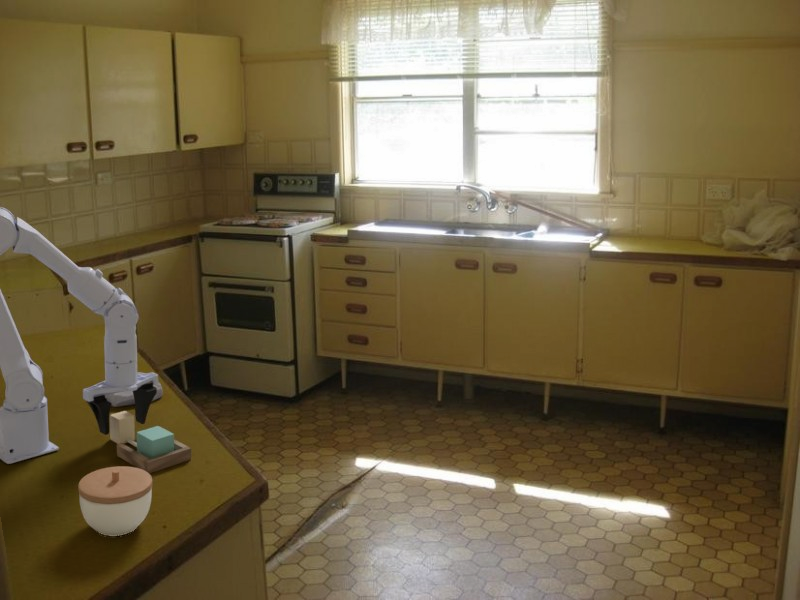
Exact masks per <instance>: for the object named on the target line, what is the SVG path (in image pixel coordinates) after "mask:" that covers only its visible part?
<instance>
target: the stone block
mask: <svg viewBox="0 0 800 600" xmlns="http://www.w3.org/2000/svg"><path fill="white" fill-rule="evenodd" d="M137 374H146V373H145V372H141V371H140V372H139V371H137ZM153 386H154V387H156V388H157V393H156V395H155V396H154V398H153V400H152V402H154V401H156V400H158V399H160V398H162V397H163V393H164V392H163V388H162V387H163V386H162V385H161V382H159V381H158V384H156V385H153ZM105 398H107V401H109V402H110V403H112V405H111V407H114V408H118V407H119V408H120V407H123V406H125V407H126V406H131V405H135V400H134V395H133V391H130V392H128V391H123V392H119V393H116V394H112V395H108V396H105Z"/></svg>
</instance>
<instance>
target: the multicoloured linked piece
mask: <svg viewBox="0 0 800 600" xmlns="http://www.w3.org/2000/svg"><path fill="white" fill-rule="evenodd" d="M135 432H136V435H135ZM109 434H110V436H109V438H110V440H111V441H112V442H114V443H116V445H117V444H120V443H123V444H124V445H125V444H127V443H129V444H130V445H132V446H134V447H135V448H136V451H137V452H138V453H140V454H142V455H144V456H145V457H147V458H149V459H151V458H154V457H157V456H160V455H163V454H166V453H169V452H172V451H174V439H175V433H172V432H171V431H169V430H167V429H165V428H164V427H161V426H159V425H155V426H152V427H149V428H146V429H142V430H139V431H136V429H135V414H132V413H131V412H129V411H127V410H123V411H122V410H121V411H120V412H119V411H118V412H116V413H111V414H109Z"/></svg>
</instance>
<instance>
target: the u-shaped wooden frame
mask: <svg viewBox="0 0 800 600" xmlns="http://www.w3.org/2000/svg"><path fill="white" fill-rule="evenodd" d="M116 456H117V457H118V458H120V459H122V460H124V461H125V462H127V463H129V464H130V465H132V466H133V467H135V468H139V469H142V470H144V471H146V472H148V473H149V474H152V473H156V472H158V471H160V470H161V471H162V470H164V469H166V468H170V467H172V466H175V465H178V464H182V463H185V462H188V461H190V460H192V448H191V447H190V446H188V445H186V444H184V443H182V442H180V441H178V440H177V439H175V438H174V451H172V452H169V453H166V454H163V455H160V456H157V457H154V458H151V459H149V458H147V457H145V456H144V455H142V454H140V453H138V452H137V450H135V449H133V448H131V447H129V446H128V445H126V444H125V443H124V444H123V443H120V444H117V443H116Z"/></svg>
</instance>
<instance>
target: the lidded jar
mask: <svg viewBox="0 0 800 600" xmlns="http://www.w3.org/2000/svg"><path fill="white" fill-rule="evenodd" d="M152 488H153V477H152V475H151V473H148V472H146V471H144V470H142V469H139V468H137V467H135V466H119V465H118V466H110V467H105V468H104V467H103V468H100V469H96V470H95V471H91V472H90V473H87V474H86V475H84V476H83V477H82V478H81V479H80V481H79V483H78V489H77V490H78V494H79V506H80V511H81V513H82V516H83V518H84V521H85V522H86V524H88V525H89V527H91V528H92V529H93V530H94V531H95V532H97V531H98V532H99V533H101V534H104V535H109V536H117V535H118V536H119V535H123V534H127V533H129V532H132V531H133V532H134V530H135V529H136V530H137V528H138V526H140V525H141V524H142V523H143V521H144V520H146V519H145V518H146V517H147V515H148V513H149V511H150V508H151V504H152V498H153V497H152V495H153V494H152V492H153V491H152V490H153V489H152ZM136 530H135V531H136ZM133 532H132V533H133Z"/></svg>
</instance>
